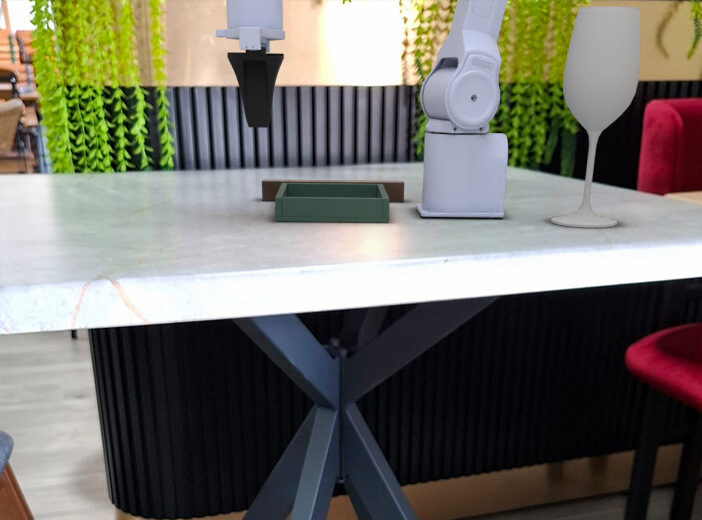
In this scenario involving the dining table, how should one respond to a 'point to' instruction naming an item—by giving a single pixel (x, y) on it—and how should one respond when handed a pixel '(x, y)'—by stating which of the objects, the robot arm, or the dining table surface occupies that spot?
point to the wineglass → (600, 84)
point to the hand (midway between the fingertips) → (258, 127)
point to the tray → (332, 202)
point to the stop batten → (392, 187)
